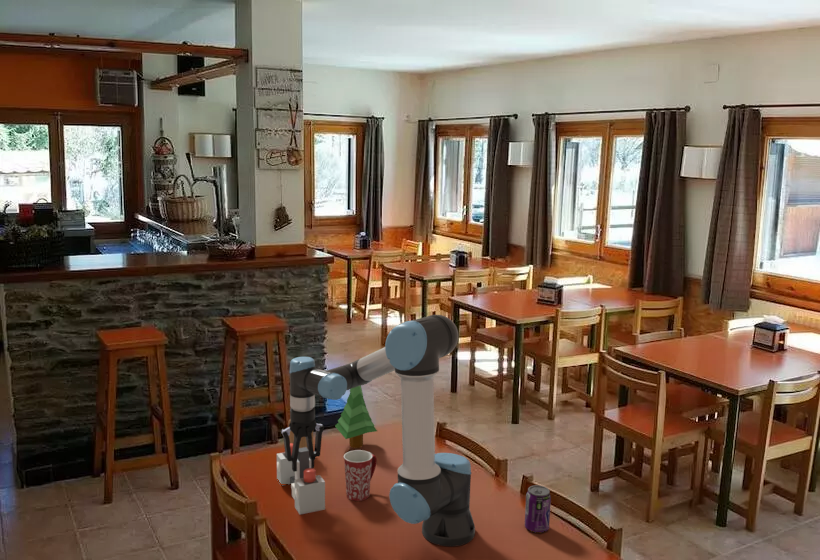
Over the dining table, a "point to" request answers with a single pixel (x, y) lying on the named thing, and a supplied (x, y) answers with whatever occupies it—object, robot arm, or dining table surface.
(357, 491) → the mug
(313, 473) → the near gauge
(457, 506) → the robot arm
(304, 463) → the dark grey tall block
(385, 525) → the dining table surface
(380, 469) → the dining table surface
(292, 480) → the rail
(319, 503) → the near cabinet
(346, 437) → the decorative tree
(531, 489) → the beverage can
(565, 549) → the dining table surface
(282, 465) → the far cabinet
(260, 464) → the dining table surface
